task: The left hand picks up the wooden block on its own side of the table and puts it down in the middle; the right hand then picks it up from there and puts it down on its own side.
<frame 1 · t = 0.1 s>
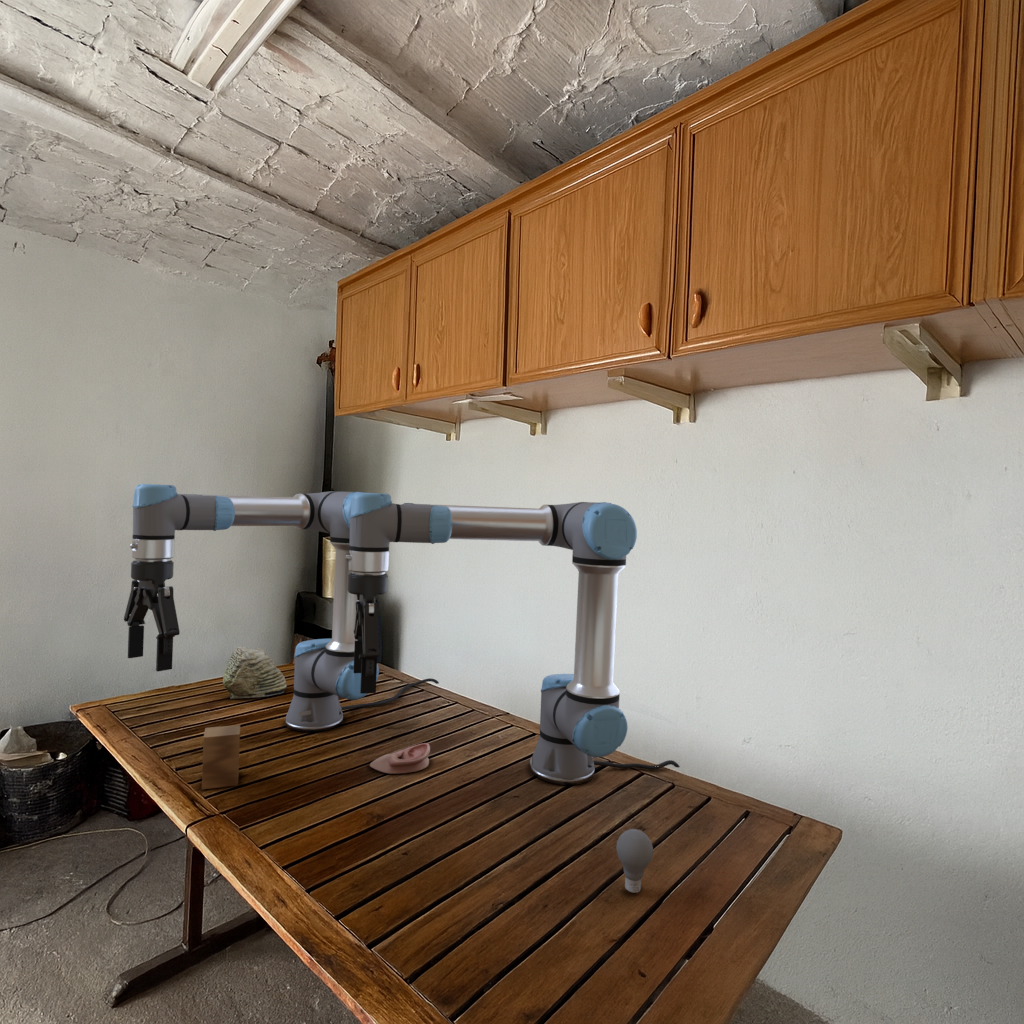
left hand: (149, 663, 129), 28 cm above the table, tool pointing down, fingers open, 13 cm apart
right hand: (364, 682, 122), 28 cm above the table, tool pointing down, fingers open, 13 cm apart
light bulb: (632, 891, 106), on the table
fossil: (254, 694, 198), on the table
anatomical model: (400, 765, 151), on the table
block: (220, 781, 139), on the table
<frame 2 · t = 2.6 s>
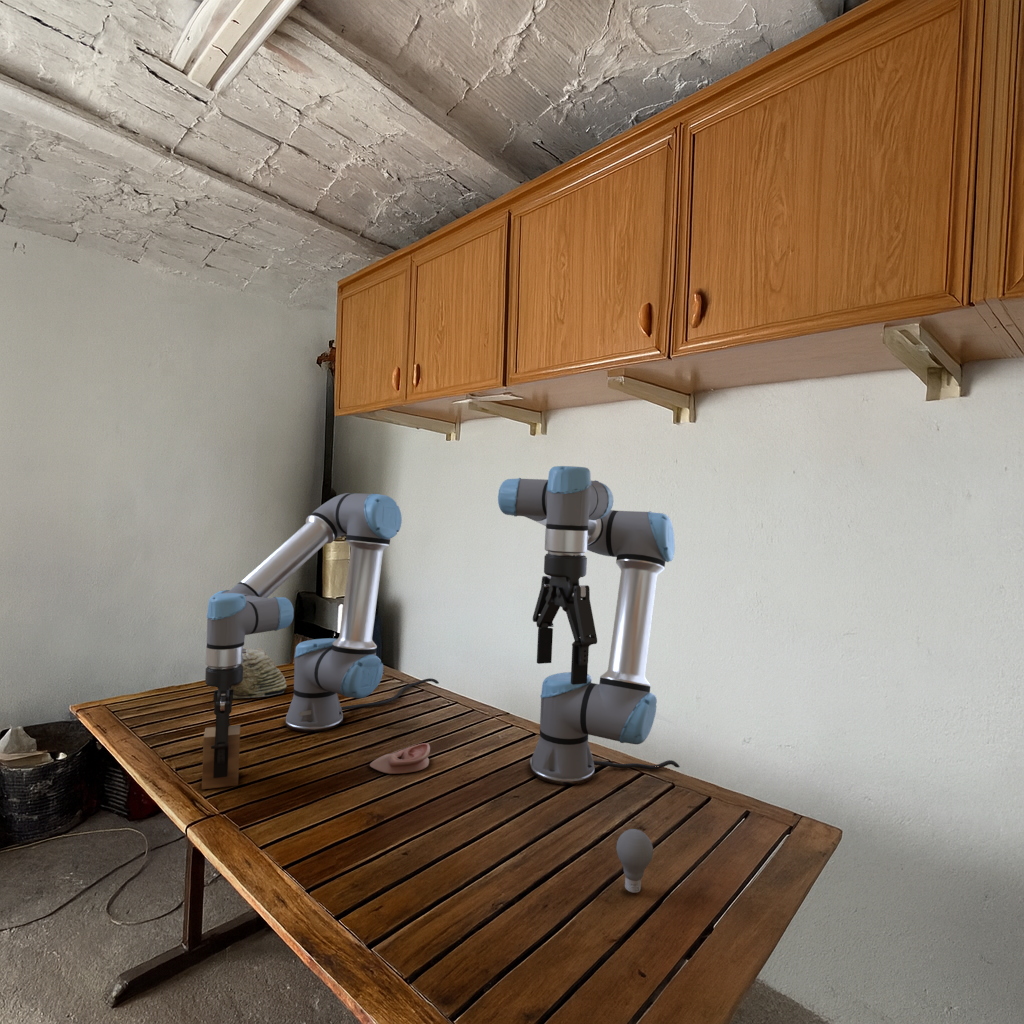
left hand: (221, 769, 139), 3 cm above the table, tool pointing down, fingers closed on block, 6 cm apart
right hand: (560, 672, 113), 34 cm above the table, tool pointing down, fingers open, 13 cm apart
block: (220, 781, 139), on the table, touching left hand
everything else where it was.
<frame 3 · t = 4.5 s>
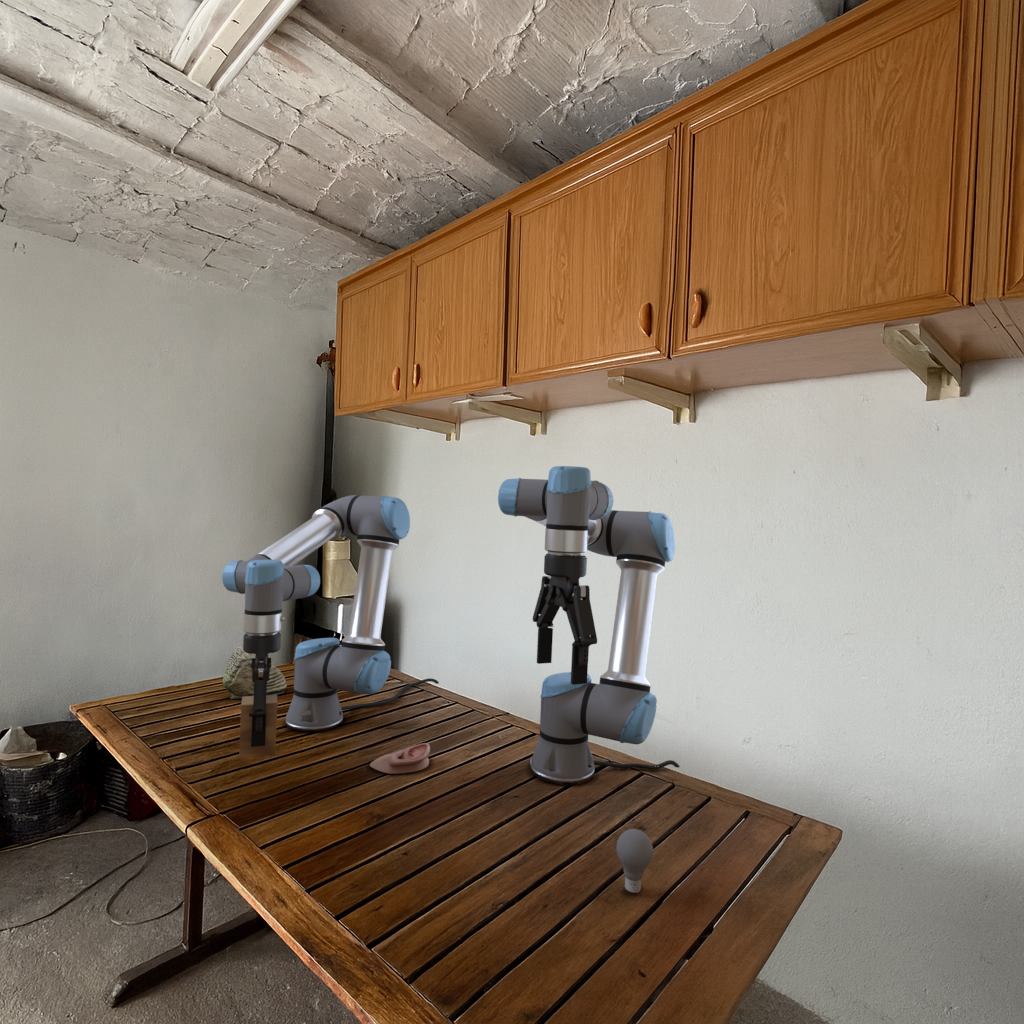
left hand: (258, 739, 136), 11 cm above the table, tool pointing down, fingers closed on block, 6 cm apart
right hand: (560, 672, 113), 34 cm above the table, tool pointing down, fingers open, 13 cm apart
block: (257, 751, 136), point 8 cm above the table, touching left hand
everything else where it was.
when the left hand's fingers open (4 cm above the table, at t = 6.7 s): block drops 2 cm, on the table.
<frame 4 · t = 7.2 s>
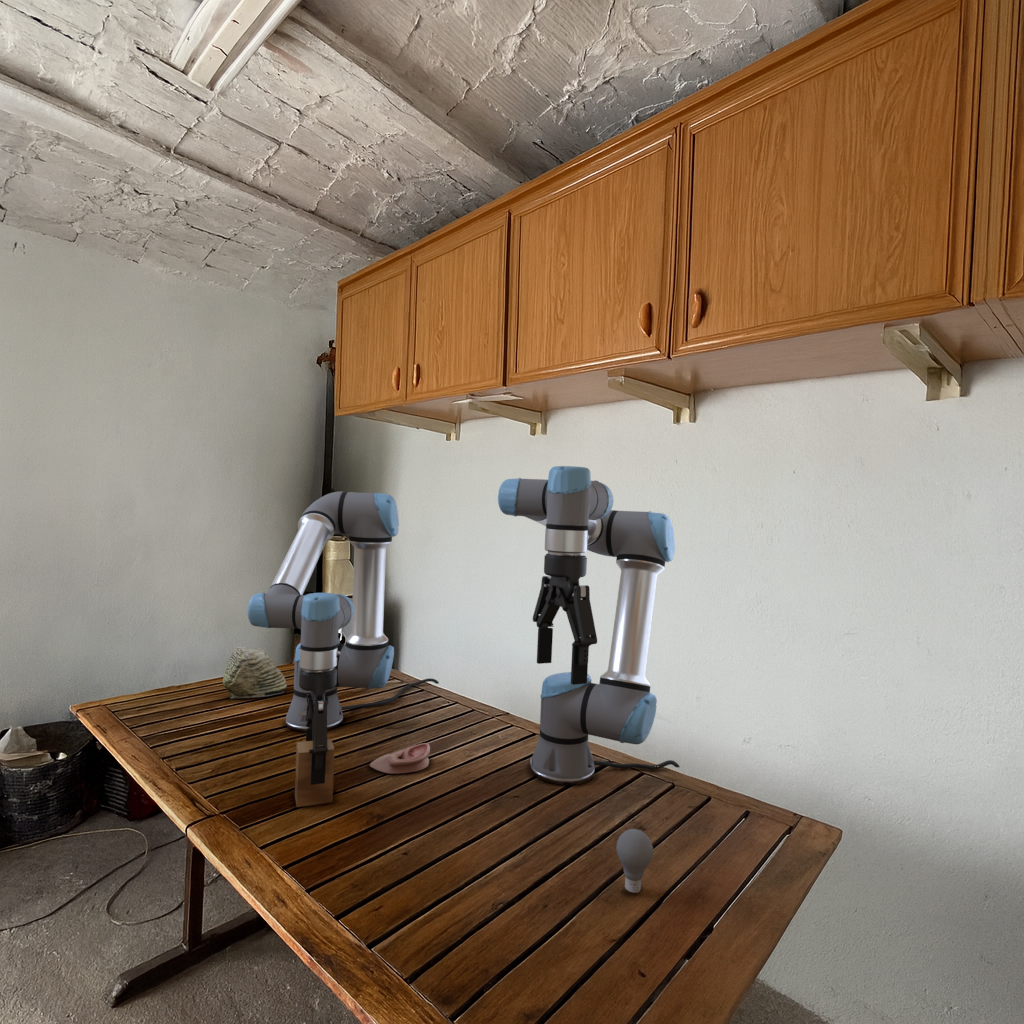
left hand: (314, 770, 133), 6 cm above the table, tool pointing down, fingers open, 12 cm apart
right hand: (560, 672, 113), 34 cm above the table, tool pointing down, fingers open, 13 cm apart
block: (313, 798, 133), on the table
everything else where it was.
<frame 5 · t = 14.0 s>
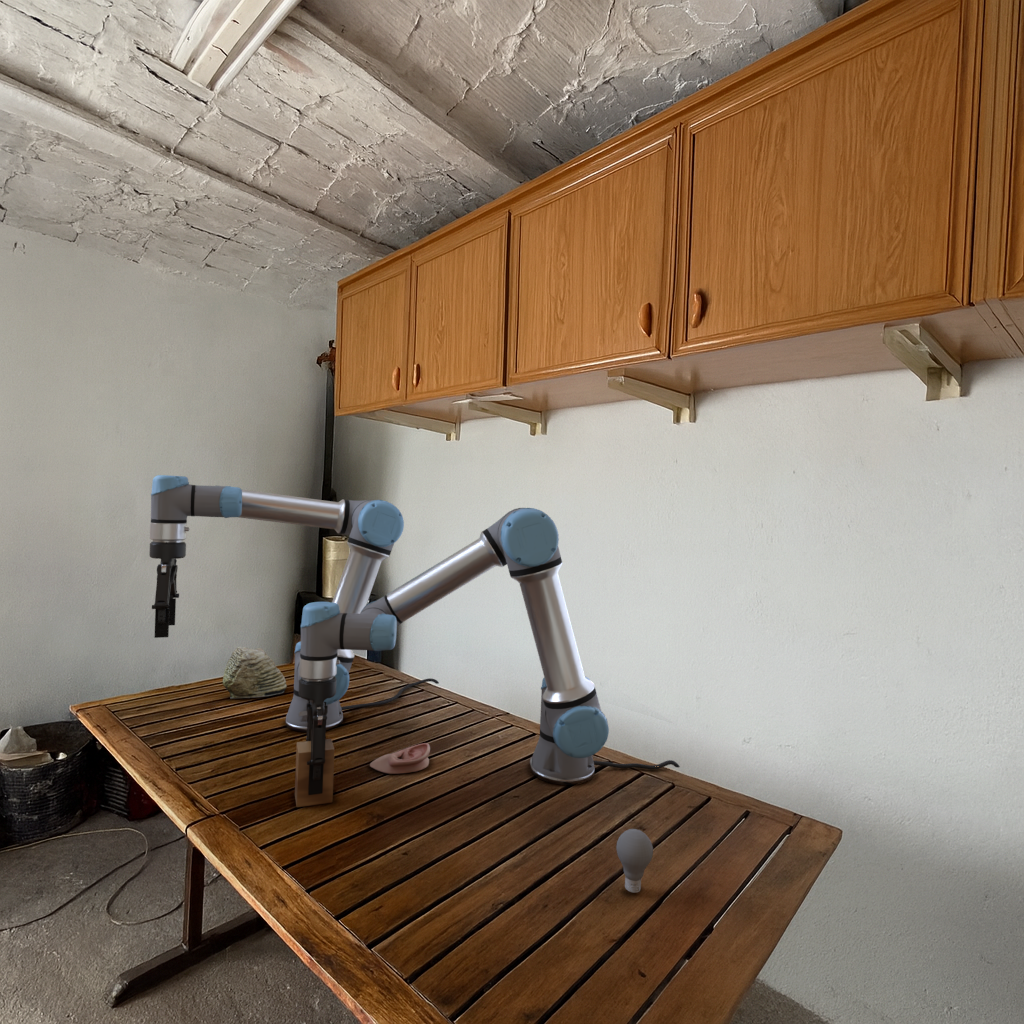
left hand: (165, 631, 149), 30 cm above the table, tool pointing down, fingers open, 13 cm apart
right hand: (313, 786, 133), 3 cm above the table, tool pointing down, fingers closed on block, 6 cm apart
block: (313, 798, 133), on the table, touching right hand
everything else where it was.
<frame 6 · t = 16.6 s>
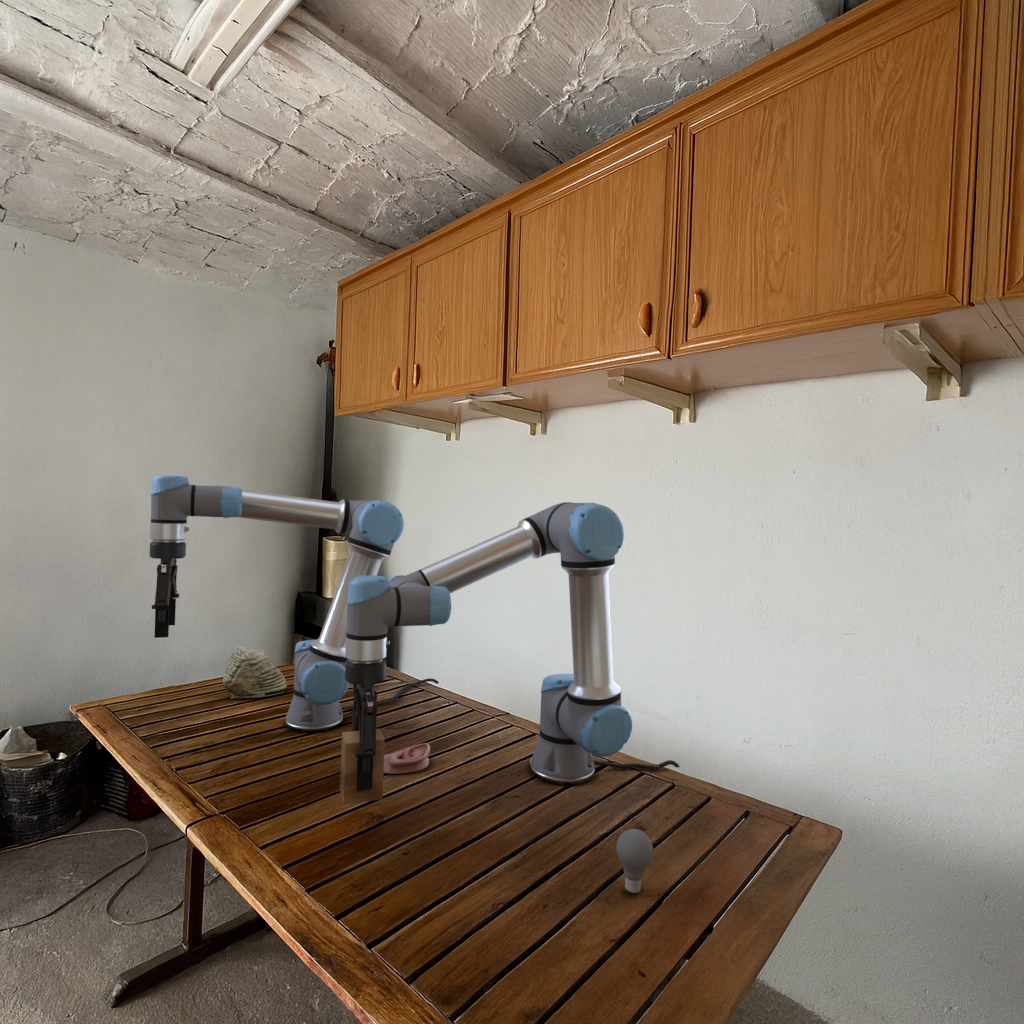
left hand: (165, 631, 149), 30 cm above the table, tool pointing down, fingers open, 13 cm apart
right hand: (361, 781, 119), 10 cm above the table, tool pointing down, fingers closed on block, 6 cm apart
block: (361, 794, 119), point 8 cm above the table, touching right hand
everything else where it was.
when the right hand's fingers open (4 cm above the table, at t = 19.2 s): block drops 2 cm, on the table.
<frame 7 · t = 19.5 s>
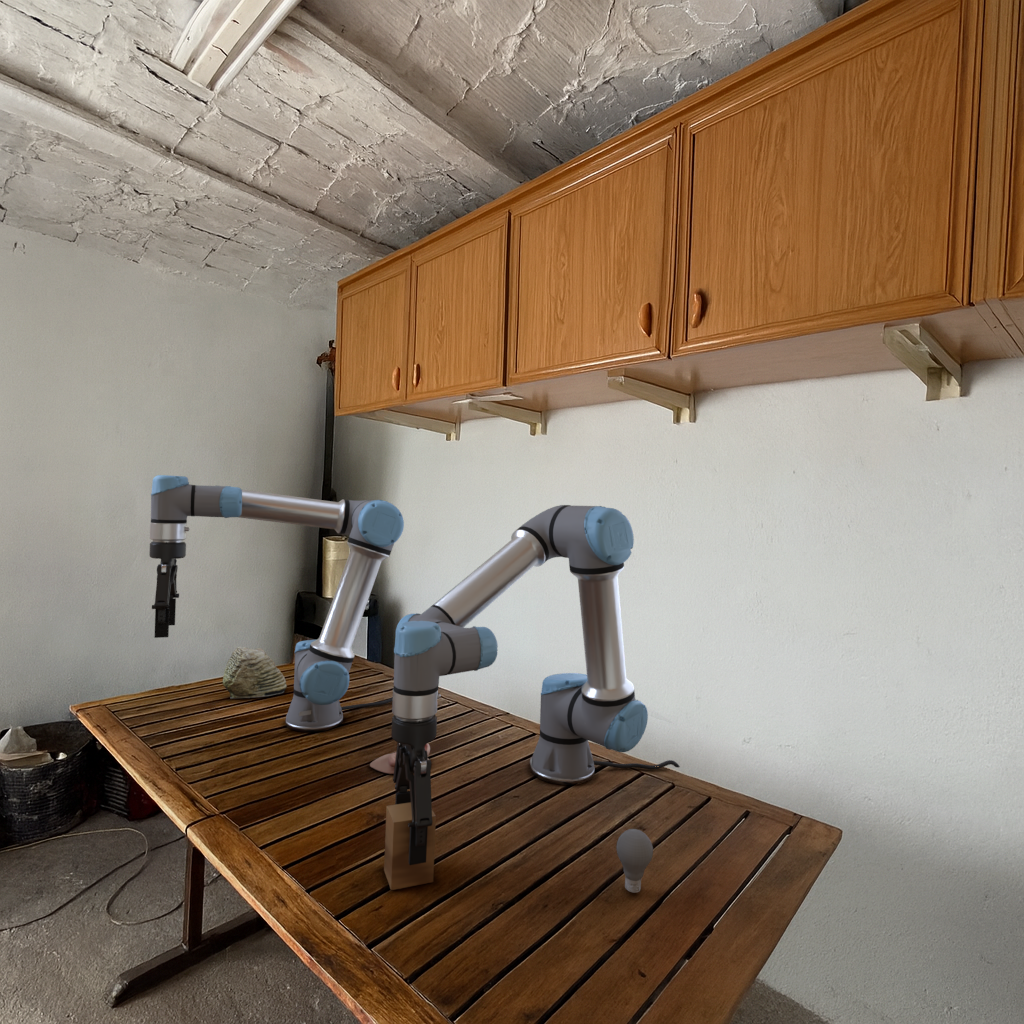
left hand: (165, 631, 149), 30 cm above the table, tool pointing down, fingers open, 13 cm apart
right hand: (409, 845, 107), 5 cm above the table, tool pointing down, fingers open, 10 cm apart
block: (408, 876, 107), on the table
everything else where it was.
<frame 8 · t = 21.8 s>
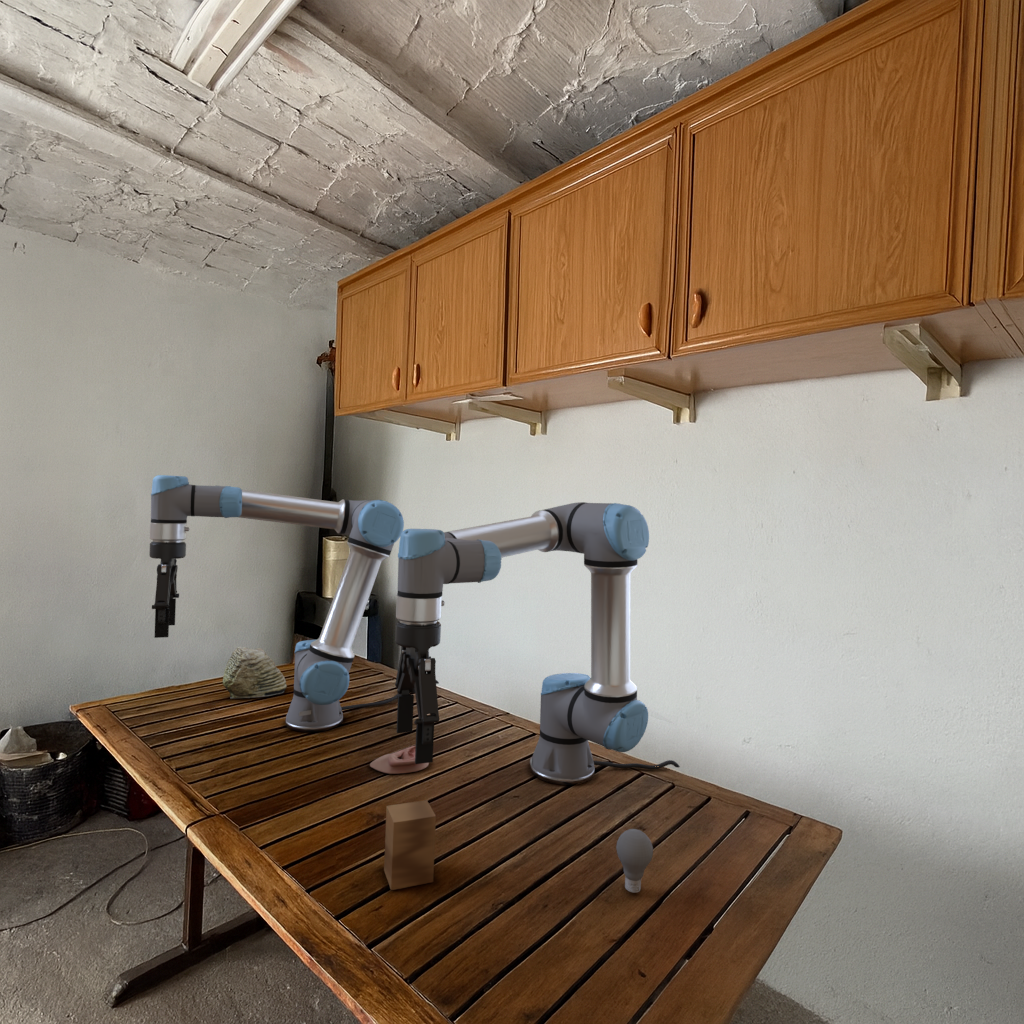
left hand: (165, 631, 149), 30 cm above the table, tool pointing down, fingers open, 13 cm apart
right hand: (413, 746, 107), 22 cm above the table, tool pointing down, fingers open, 13 cm apart
nothing on the table moved.
at the end: block inside the target area (0.1 cm from its centre), on the table; block tilted 0°; the two hands never held the block at the same time; the left hand is holding nothing; the right hand is holding nothing; block at rest at the end (0.0 cm/s) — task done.
